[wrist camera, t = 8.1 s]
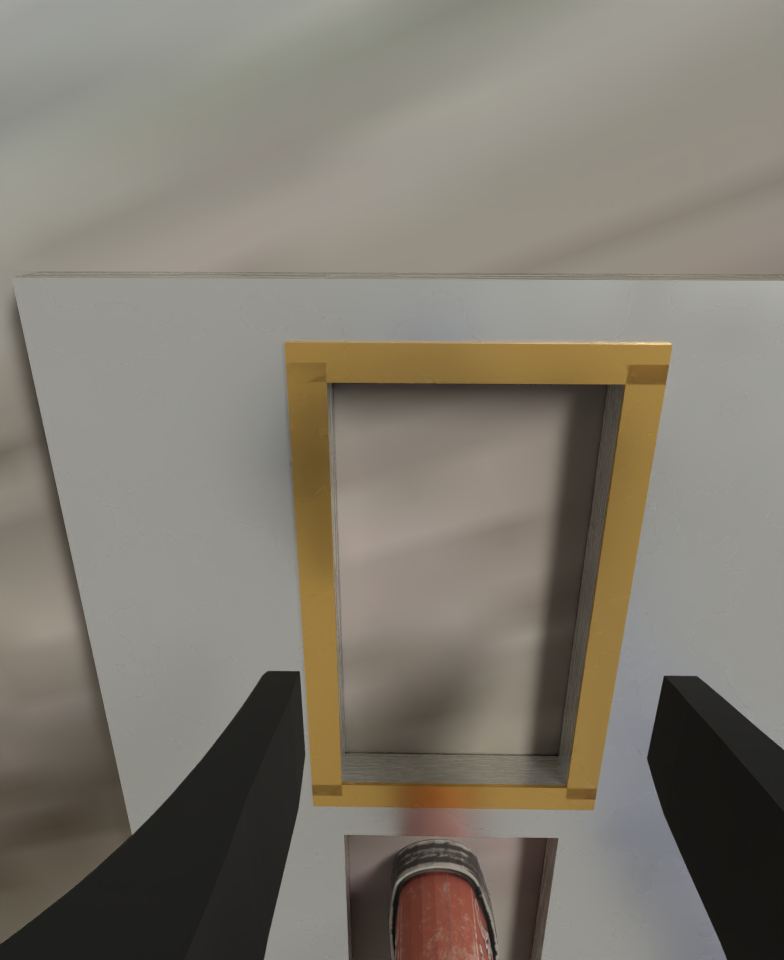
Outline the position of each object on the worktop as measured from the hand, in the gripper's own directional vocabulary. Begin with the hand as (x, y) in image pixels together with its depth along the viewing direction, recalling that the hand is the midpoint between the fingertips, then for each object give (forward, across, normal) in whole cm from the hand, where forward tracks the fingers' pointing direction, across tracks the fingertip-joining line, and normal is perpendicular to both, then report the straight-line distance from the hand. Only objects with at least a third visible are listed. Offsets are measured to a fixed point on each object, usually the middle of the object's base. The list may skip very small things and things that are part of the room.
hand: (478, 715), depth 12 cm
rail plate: (+4, 0, +6) cm, 8 cm away
